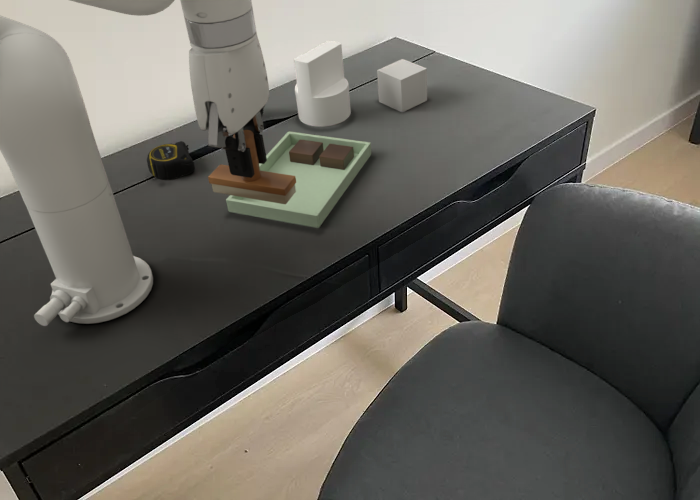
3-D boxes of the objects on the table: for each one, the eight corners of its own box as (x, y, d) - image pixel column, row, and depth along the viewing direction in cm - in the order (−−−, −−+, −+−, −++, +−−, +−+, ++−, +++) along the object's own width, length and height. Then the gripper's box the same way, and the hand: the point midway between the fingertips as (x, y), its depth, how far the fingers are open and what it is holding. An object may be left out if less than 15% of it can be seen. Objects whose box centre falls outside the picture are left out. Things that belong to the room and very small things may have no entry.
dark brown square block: (313, 165, 115) (312, 155, 113) (290, 161, 116) (288, 151, 115) (324, 152, 117) (322, 142, 116) (301, 149, 119) (299, 139, 118)
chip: (344, 170, 113) (343, 159, 112) (320, 166, 114) (319, 156, 113) (354, 156, 116) (353, 146, 115) (330, 153, 117) (329, 143, 116)
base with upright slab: (328, 135, 123) (321, 67, 116) (288, 122, 128) (278, 56, 121) (361, 113, 128) (356, 46, 121) (321, 101, 133) (314, 36, 126)
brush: (287, 205, 93) (277, 146, 88) (211, 192, 97) (197, 135, 92) (297, 191, 95) (289, 133, 90) (223, 179, 99) (211, 123, 94)
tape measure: (197, 178, 116) (192, 157, 113) (153, 188, 114) (147, 167, 112) (191, 157, 121) (186, 137, 119) (148, 167, 120) (143, 146, 117)
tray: (319, 232, 102) (317, 215, 100) (229, 215, 107) (225, 199, 105) (371, 158, 116) (370, 142, 115) (290, 146, 121) (288, 131, 120)
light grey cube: (378, 102, 131) (376, 70, 128) (403, 90, 134) (402, 58, 131) (402, 112, 128) (400, 79, 124) (427, 100, 130) (426, 68, 127)
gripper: (228, -2, 90) (253, 133, 101) (152, 54, 78) (189, 199, 90) (283, 2, 87) (303, 140, 98) (213, 60, 76) (244, 208, 87)
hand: (248, 167), depth 94 cm, fingers closed on brush, 2 cm apart
